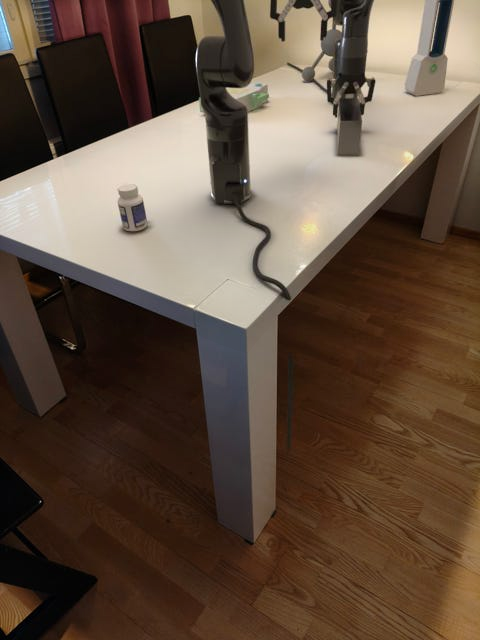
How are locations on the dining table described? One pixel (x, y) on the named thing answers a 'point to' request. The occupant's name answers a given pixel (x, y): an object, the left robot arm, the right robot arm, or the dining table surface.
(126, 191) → the pill bottle
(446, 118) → the dining table surface
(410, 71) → the electronic device
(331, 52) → the molecular model
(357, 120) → the bar
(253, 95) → the decorative block
